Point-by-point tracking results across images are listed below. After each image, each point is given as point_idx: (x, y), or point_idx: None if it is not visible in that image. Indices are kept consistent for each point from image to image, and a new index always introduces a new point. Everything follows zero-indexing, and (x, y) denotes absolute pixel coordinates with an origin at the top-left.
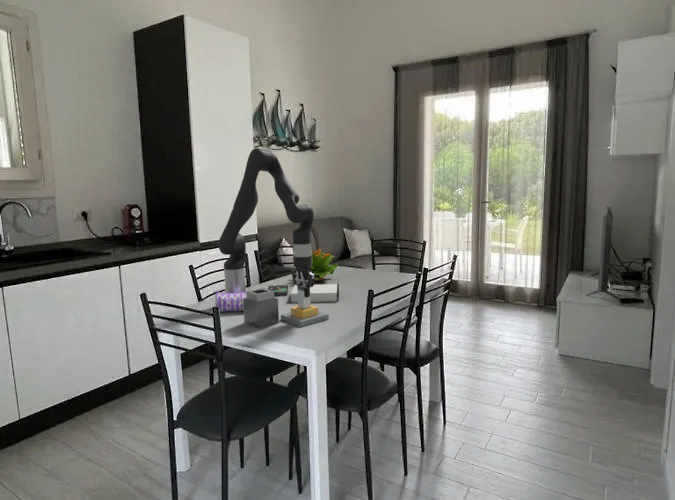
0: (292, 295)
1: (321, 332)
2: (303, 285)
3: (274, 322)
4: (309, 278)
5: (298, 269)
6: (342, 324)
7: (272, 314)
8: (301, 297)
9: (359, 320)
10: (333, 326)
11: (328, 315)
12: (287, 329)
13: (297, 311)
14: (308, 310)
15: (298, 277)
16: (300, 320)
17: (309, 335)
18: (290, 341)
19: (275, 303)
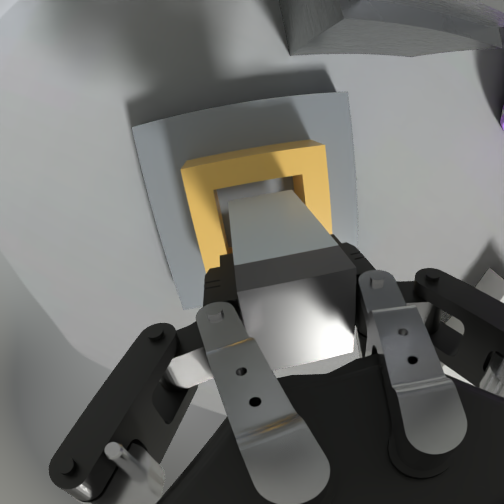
0: (502, 286)
1: (29, 183)
2: (311, 329)
3: (286, 26)
4: (89, 431)
5: (457, 483)
6: (89, 303)
7: (296, 1)
8: (256, 227)
9: (113, 367)
10: (77, 263)
11: (183, 305)
12: (147, 47)
13: (240, 155)
14: (193, 219)
15: (385, 362)
16: (161, 134)
17: (20, 120)
18: (9, 31)
19: (323, 4)
